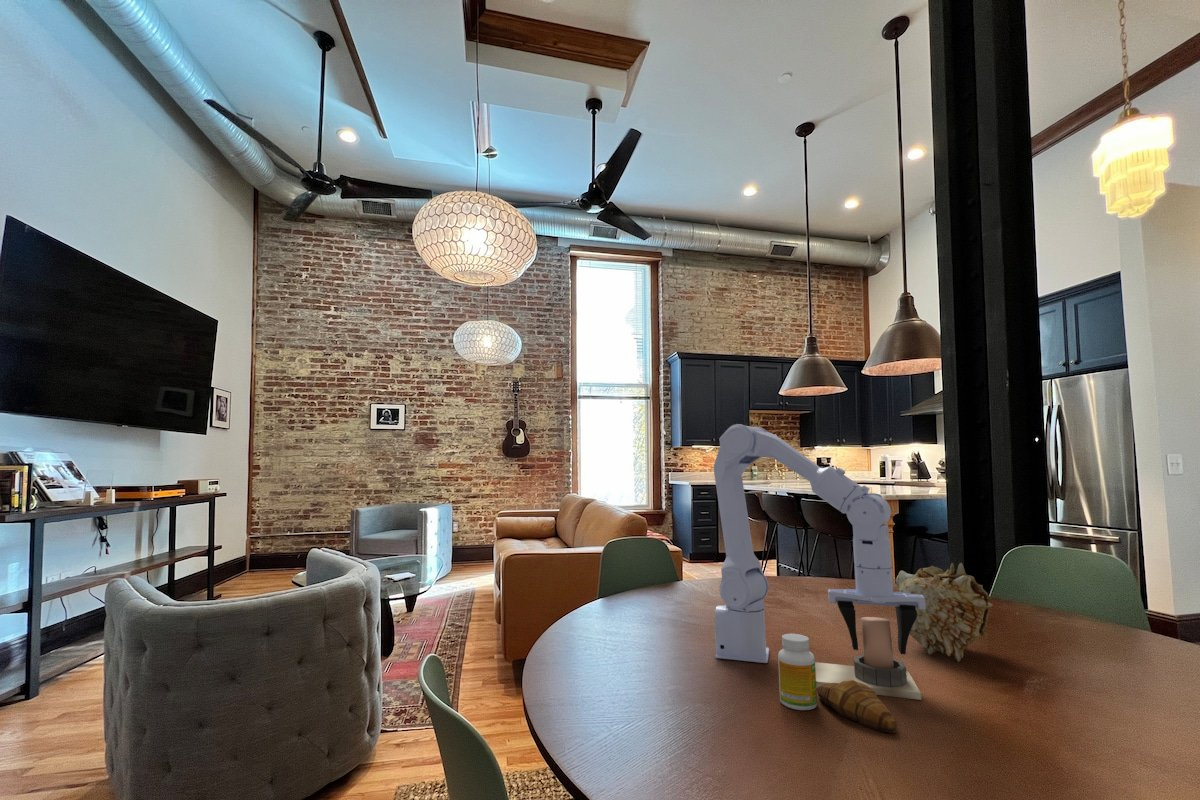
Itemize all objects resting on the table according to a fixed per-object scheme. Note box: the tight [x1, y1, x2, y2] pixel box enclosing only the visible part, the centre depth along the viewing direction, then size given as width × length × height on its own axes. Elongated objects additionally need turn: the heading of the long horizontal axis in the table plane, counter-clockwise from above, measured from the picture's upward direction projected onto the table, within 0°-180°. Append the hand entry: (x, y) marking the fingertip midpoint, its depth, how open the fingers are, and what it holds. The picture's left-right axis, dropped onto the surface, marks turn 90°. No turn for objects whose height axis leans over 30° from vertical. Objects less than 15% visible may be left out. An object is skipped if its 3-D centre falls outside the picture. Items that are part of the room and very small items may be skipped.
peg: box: [860, 616, 894, 669], centre depth 92 cm, size 4×4×9 cm
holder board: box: [815, 654, 922, 701], centre depth 93 cm, size 20×10×4 cm, turn 71°
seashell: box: [895, 562, 994, 663], centre depth 108 cm, size 18×18×15 cm
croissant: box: [817, 680, 897, 734], centre depth 81 cm, size 14×7×5 cm, turn 21°
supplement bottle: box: [777, 633, 818, 711], centre depth 84 cm, size 5×5×10 cm
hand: (878, 650), depth 92 cm, fingers open, 6 cm apart
